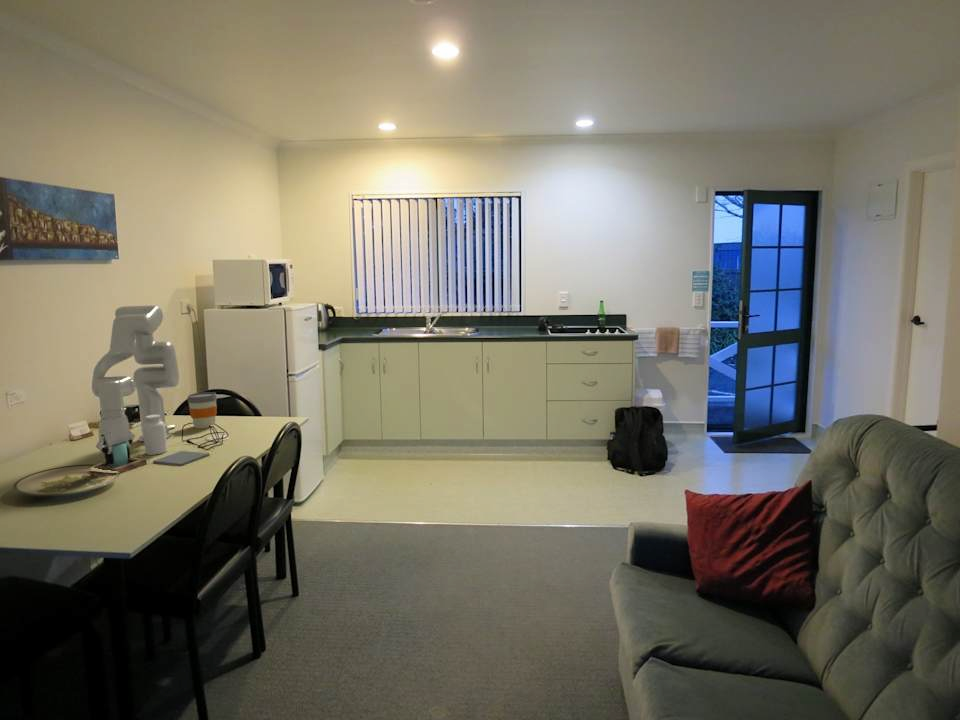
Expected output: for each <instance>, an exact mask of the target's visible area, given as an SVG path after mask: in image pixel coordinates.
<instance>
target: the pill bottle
mask: <svg viewBox="0 0 960 720" xmlns="http://www.w3.org/2000/svg"><path fill="white" fill-rule="evenodd" d="M145 419H146V422H147V423H145V424H144V425H143V434H144V444H143V445H144V452H145V454H146V455H151V456H153V455H160V454H164V453H166V452H168V443H167V439H166V430H165V424H164V422H162V421H160V420H161V419H160V415H149V416H146V417H145Z"/></svg>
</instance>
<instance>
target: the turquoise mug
mask: <svg viewBox="0 0 960 720" xmlns="http://www.w3.org/2000/svg"><path fill="white" fill-rule="evenodd" d="M107 450H108V448H107ZM111 453H112V454H113V461H114V463H113V464H109V467H120V466H123V465H126V464H129V463H128V454H127V445H126V442H123V443H120V444H117V445H113V446H112V451H111Z"/></svg>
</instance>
